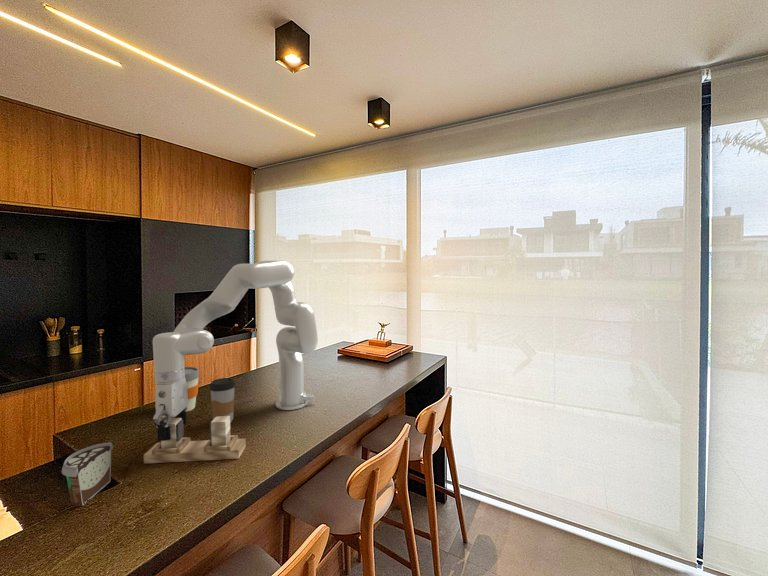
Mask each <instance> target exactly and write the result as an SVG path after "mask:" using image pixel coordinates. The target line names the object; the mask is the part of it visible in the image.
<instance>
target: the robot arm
mask: <svg viewBox="0 0 768 576" xmlns="http://www.w3.org/2000/svg"><path fill="white" fill-rule="evenodd" d="M294 274H295V270H294V267H293V265H292V263H290V262H288V261H286V260H262V261H261V260H260V261H258V262H256V263H238V264H235V265H233V266H232V268H231V269H230V270H229V271H228V272H227V273H226V275H225V276H224V277H223V278H222V280H221V282H220V283H219V284H218V285H217V287H216V288H215V289H214V290H213V292H212V293H211V294H210V295H209V296H208V297H207V298H205V299H204V300H203V301H201V302H200V303H199V304H197V305H196V306H195V307H193V308H192V309H190V311H189V312H188V313H187V314H186V315H185V316H184V317H183V318H182V319H181V321H180V322H179V323H178V325H177V326H176V327H175V329H174V330H173V331H171V332H170V331H169V332H162V333H158V334H156V335H154V336H153V338H152V354H153V367H154V369H153V370H154V384H156V385H155V399H154V400H155V414H153V418H152V420H153V421H154V425H155V428H156V430H157V431H156V432H157V441H158V442H161V441H167V440H170V439H171V431H170V426H168V425H169V422H170V418H182V420H183V425H186V424H187V423H188V421H187V420H188V419H187V412H186V410H187V406H188V391H187V384H186V379H185V367H186V366H185V356H191V355H203V354H204V353H206V352H208V351H210V350H211V349H212V348H213V345H214V343H215V338H214V336H213V334H212V333H211V332H210V331H208V330H207V329H206V330H205V329H204V328H205V327H206V326H207V325H208V324H209V323H211V322H212V321H214V320H216V319H217V318H220V317H222V316H225V315H227V314H229V313H231V312H233V311H234V310H235V309H236V307H237V306H238V305H239V303H240V302H241V300H242V299H243V298H244V297H245V295H246V293H247V292H248V290H249V289H253V290H254V289H255V290H256V289H258V290H259V289H267V288H268V289H269V290H270V292H271V295H272V301H273V305H274V311H275V317H276V320H277V322H278V323H279V324H281V325H284V326H285V327H283V328H281V329H280V330H279V331H278V332H277V334H276V338H275V342H276V343H275V344H276V349H277V352H278V354H277V355H278V362H279V363H278V366H279V368H278V375H279V376H278V377H279V378H278V380H279V381H278V382H279V386H278V387H279V399H278V400H276V402H275V407H276V408H277V409H279V410H282V411H283V410H284V411H293V410H294V411H295V410H299V409H301V408H304V407H306V406H307V405H308V402H309V401H315V399H316V395H315V394H314V395H313V393H306V390H305V387H304V383H305V382H304V381H305V379H304V375H305V374H304V364H305V363H304V358H303V355H302V354H305V355H309V354H311V353H313V352H314V351H315V350H316V348H317V346H318V331H317V325H316V322H317V321H316V318H315V312H314V309H313V308H312V306H311V305H309V303H308V302H307V303H306V302H301V301H298V300H297V298H296V292H295V288H294V286H293V283H292V280H293V279H294ZM286 326H287V327H286ZM164 419H165V420H166V422H164V421H165V420H164Z"/></svg>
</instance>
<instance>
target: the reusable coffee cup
mask: <svg viewBox="0 0 768 576" xmlns="http://www.w3.org/2000/svg"><path fill="white" fill-rule="evenodd" d="M184 367H185V379H186V384H187V391H188V406H187V410H186V413H187V412H190V411H192V410H194V409H195V407H196V402H197V396H198V394H199V393H198V392H199V383H200V382H199V377H200V372H199V368H198V367H194V366H184Z"/></svg>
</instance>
